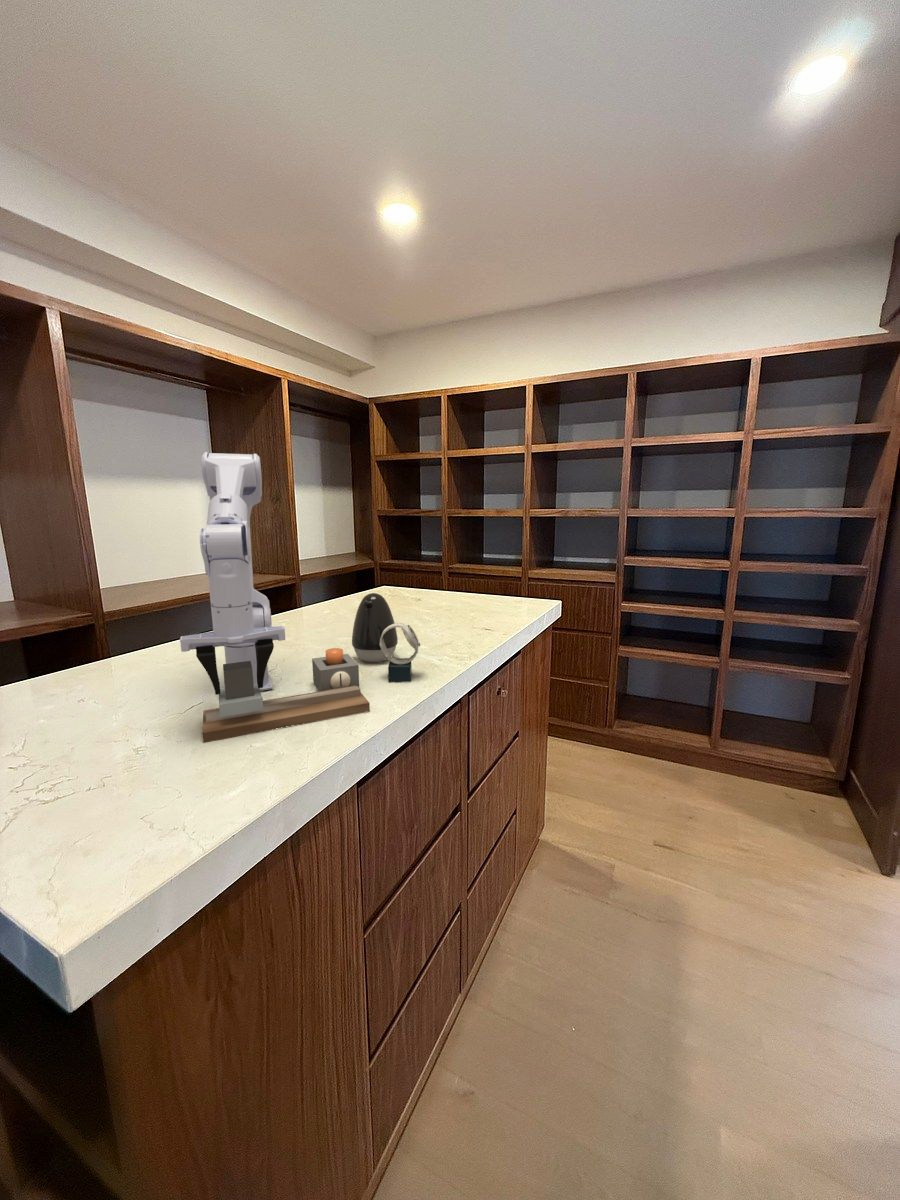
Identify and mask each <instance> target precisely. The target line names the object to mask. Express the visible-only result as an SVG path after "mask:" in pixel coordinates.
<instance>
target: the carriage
mask: <svg viewBox="0 0 900 1200" xmlns="http://www.w3.org/2000/svg"><path fill="white" fill-rule="evenodd" d="M222 669H223V670H222V671H223V680H224V682H223V683H224V688H220V694H218V708H219V710H220V717H226V716H232V715H238V714H244V713H249V712H255V711H261V710H263V701H264V700H263V696H262V691H260V688H258V685H257V684H253V672H252V665H251V661H244V662H236V663H229V664H226V663H224V664H223V663H222Z"/></svg>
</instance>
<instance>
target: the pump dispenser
mask: <svg viewBox="0 0 900 1200" xmlns="http://www.w3.org/2000/svg"><path fill="white" fill-rule="evenodd" d="M395 623H396V622H395V619H394V616H393V612H392V611H391V608H390V605H389V603H388V602H387V600H386V598H385V597H383V595H382V594H380V593H376V592H372V593H368V594H366V595H365V596H364V597H362V599H361V601H360V603H359V605H358V608H357V611H356V614H355V618H354V621H353V627H352V635H351V646H352V647H353V649H354V652H355V655H356V656H357V657H358V658H359V659H360V660H362V661H365V662H366V663H380V662H384V661H388V660H387V659H386V657H385V656H384V654H383V652H382V650H381V648H380V638H381V635H382V633H383V631H384V630H385V629H386V628H387V627H388V626H390V625H392V624H395ZM397 632H398V631H397V627H396V628H392V629H389V630H388V631H386V633H385V634H384V635H383V639H384V643H385V645H386V648H387V649H388V651H389V652H390V654H391V655H392V656H393V654H394V653H395V651H396V648H397V645H398V642H399V641H398V633H397Z"/></svg>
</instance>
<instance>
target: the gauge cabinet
mask: <svg viewBox="0 0 900 1200" xmlns="http://www.w3.org/2000/svg"><path fill="white" fill-rule="evenodd" d="M311 663H312V666H311V667H312V679H313V680H312V681H313V684H314V686H315V688H316V690H317V692H319V691H325V690H331V689H337V688H343V687H350V686H358V687H359V688H360V671H359V670H360V666H359V664H358V663H357V662H356V661H355V659H354V658H352V656H351V655H350V654H349V653H343V663H342V664H338V665H327V664H326V656H320V657H313V658H311Z"/></svg>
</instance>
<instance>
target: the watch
mask: <svg viewBox="0 0 900 1200" xmlns="http://www.w3.org/2000/svg"><path fill="white" fill-rule="evenodd" d="M394 623H395V624H392V625H390V626H388V627H387V628H386V629H385V630H384V631H383V633H382V635H381V638H380V648H381V650H382V652H383V654H384V656H385V657H386V659H387V660H386V661H387V662H388V663H389V664H388V666H387V669H388V670H387V671H388V673H387V674H388V675H387V676H388V683H411V681H412V673H413V672H412V661H414V659H415V658H416V657H417V654H418V653H419V647H421V642H420V640H419V638H418V636H417V634H416V632H415V631H414V629H413V628H412V626H410V625H409V624H407V625H406V624H405V623H402V622H394ZM392 628H396V629H397V628H400V629H401V631H402V632H403V635H404V637H405V639H406V641H407V642H408V644H409V645H410V647H412V648H413V649H414V652H413V654H412V655H411V656H410V657H406V658H405V657H404V658H403V657H402V658H398V657H397V658H395V657H393V655H391V654H390V652H389V651H388V649H387V648H386V645H385V643H384V639H383V635H384V634H385V633H386V631H388V630H389V629H392Z"/></svg>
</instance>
